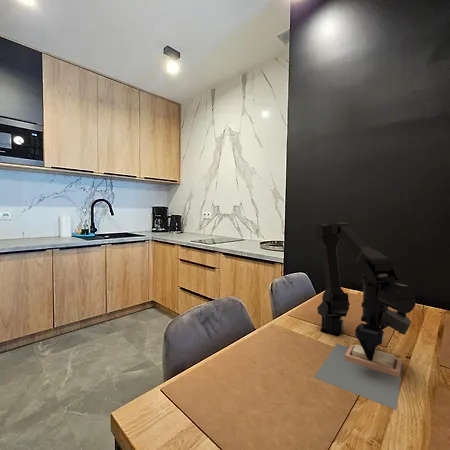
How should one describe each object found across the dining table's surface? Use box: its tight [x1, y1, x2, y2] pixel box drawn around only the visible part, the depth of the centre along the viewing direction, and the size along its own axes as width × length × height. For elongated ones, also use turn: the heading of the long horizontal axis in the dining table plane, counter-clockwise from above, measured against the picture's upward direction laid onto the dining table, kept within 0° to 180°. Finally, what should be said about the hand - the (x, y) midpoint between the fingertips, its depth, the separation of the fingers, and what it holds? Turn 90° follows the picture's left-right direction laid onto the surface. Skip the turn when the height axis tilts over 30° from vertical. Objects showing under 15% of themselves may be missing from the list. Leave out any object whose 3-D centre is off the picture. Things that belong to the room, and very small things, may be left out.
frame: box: [345, 343, 402, 377], centre depth 74 cm, size 13×8×1 cm, turn 52°
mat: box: [313, 343, 404, 411], centre depth 70 cm, size 18×22×1 cm
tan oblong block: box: [352, 343, 396, 369], centre depth 74 cm, size 10×5×3 cm, turn 52°
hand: (372, 352), depth 74 cm, fingers open, 9 cm apart
